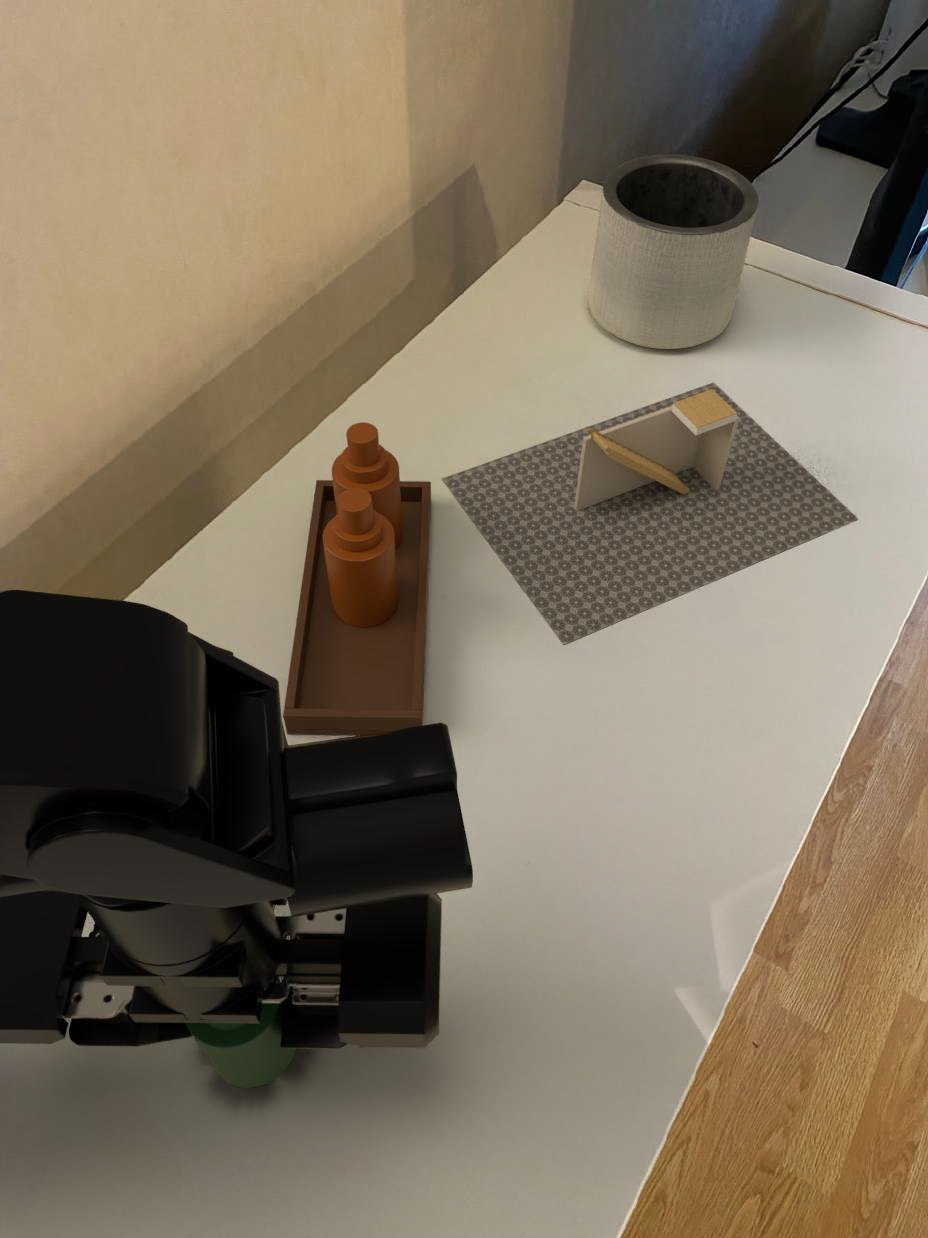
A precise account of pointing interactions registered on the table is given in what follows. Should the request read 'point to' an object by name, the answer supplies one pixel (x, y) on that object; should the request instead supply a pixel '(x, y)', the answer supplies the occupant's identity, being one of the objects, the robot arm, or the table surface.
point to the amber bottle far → (370, 474)
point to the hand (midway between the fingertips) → (246, 1024)
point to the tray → (361, 636)
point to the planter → (670, 250)
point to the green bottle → (246, 1047)
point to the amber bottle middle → (361, 561)
